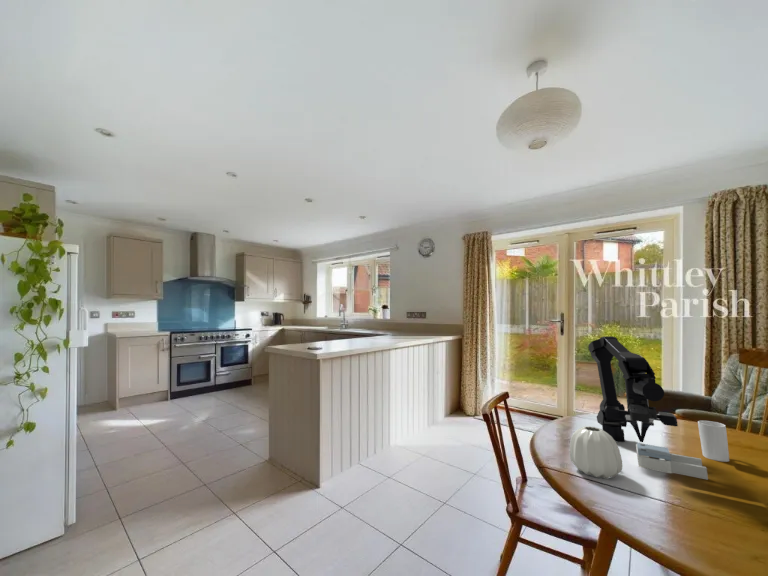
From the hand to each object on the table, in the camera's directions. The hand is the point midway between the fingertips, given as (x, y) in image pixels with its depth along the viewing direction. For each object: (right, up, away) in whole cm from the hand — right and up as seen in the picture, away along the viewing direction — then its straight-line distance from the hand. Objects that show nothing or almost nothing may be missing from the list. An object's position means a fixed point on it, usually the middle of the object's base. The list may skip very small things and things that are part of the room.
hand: (641, 441), depth 105 cm
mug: (+28, -8, +3) cm, 30 cm away
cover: (+2, -3, -2) cm, 4 cm away
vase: (-19, -7, -5) cm, 21 cm away
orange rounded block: (+3, -6, -1) cm, 7 cm away
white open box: (+8, -7, -2) cm, 11 cm away
